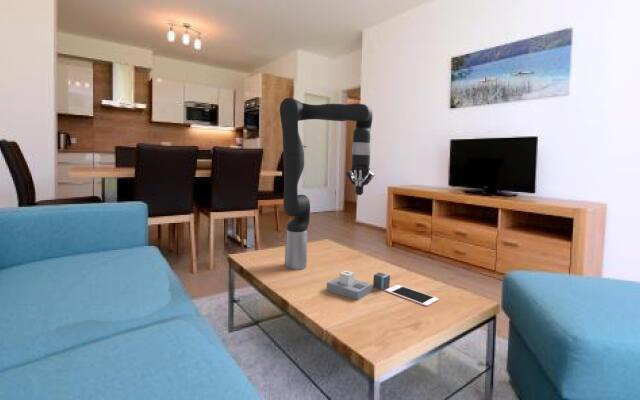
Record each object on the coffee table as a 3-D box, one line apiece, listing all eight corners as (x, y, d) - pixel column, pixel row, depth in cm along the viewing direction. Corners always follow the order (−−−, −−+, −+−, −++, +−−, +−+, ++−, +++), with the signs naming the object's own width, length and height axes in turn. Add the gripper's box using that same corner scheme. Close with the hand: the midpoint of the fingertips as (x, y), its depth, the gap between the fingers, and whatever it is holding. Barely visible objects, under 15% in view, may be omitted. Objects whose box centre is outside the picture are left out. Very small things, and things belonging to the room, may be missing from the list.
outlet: (326, 290, 132) (326, 282, 132) (341, 282, 140) (341, 275, 140) (357, 300, 124) (358, 291, 123) (371, 291, 132) (371, 284, 131)
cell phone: (397, 286, 139) (397, 284, 139) (439, 301, 126) (439, 298, 126) (384, 292, 133) (384, 289, 133) (426, 307, 120) (427, 305, 120)
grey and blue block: (373, 287, 137) (373, 274, 136) (378, 284, 140) (378, 272, 139) (384, 290, 134) (384, 277, 133) (389, 287, 137) (390, 275, 136)
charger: (339, 290, 132) (339, 272, 131) (345, 287, 135) (345, 270, 134) (348, 293, 130) (348, 275, 129) (353, 290, 133) (354, 272, 132)
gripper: (342, 153, 145) (341, 194, 147) (370, 154, 137) (368, 197, 139) (352, 153, 151) (350, 192, 153) (379, 154, 143) (377, 195, 145)
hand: (359, 194), depth 146 cm, fingers closed
